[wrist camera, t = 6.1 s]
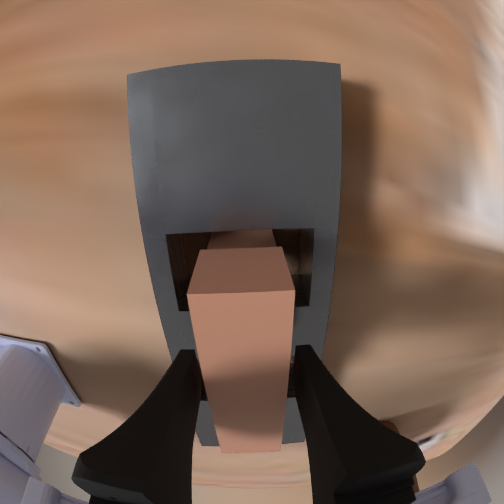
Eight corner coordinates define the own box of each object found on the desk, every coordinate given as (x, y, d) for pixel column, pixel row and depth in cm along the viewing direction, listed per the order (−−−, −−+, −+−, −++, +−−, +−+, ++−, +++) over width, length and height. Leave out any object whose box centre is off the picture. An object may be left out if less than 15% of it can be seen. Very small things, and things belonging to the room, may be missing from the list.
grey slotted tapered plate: (204, 416, 21) (201, 445, 19) (149, 83, 11) (126, 74, 9) (299, 412, 21) (304, 441, 19) (320, 75, 11) (340, 64, 9)
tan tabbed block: (225, 361, 18) (221, 453, 12) (210, 216, 14) (186, 294, 8) (270, 360, 18) (280, 450, 12) (271, 214, 14) (295, 290, 8)
